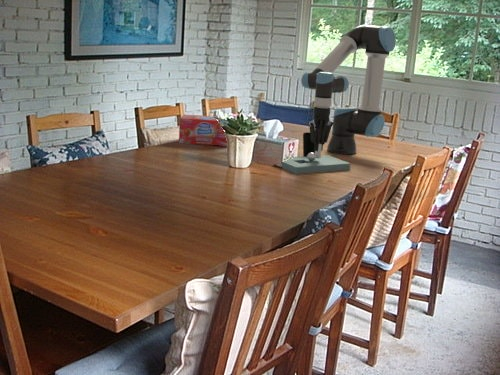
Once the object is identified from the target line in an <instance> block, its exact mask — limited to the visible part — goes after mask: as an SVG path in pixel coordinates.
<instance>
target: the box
mask: <svg viewBox="0 0 500 375" xmlns="http://www.w3.org/2000/svg"><path fill="white" fill-rule="evenodd" d="M214 117H215V116H212V115H198V114H197V115H195V114H183V115H181V116H180V117H179V125H178V126H179V130H178V144H187V145H188V144H189V145H201V146H202V145H203V146H213V145H219V146H218V147H227V146H226V145H227V141H226V137H225V134H224V131H223V129H222V128H221V126H220V124H219V123H218V121H217V120H216V119H214Z"/></svg>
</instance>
